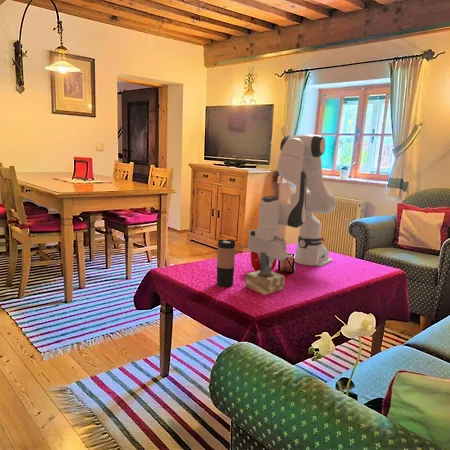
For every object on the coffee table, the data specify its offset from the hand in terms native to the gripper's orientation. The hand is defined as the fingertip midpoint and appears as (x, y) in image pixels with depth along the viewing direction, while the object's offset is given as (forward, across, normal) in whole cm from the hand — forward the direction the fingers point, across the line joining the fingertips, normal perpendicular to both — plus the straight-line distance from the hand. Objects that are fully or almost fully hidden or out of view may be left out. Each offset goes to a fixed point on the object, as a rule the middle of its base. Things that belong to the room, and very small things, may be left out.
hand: (265, 265), depth 175 cm
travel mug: (+11, +13, +12) cm, 21 cm away
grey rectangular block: (+4, 0, 0) cm, 4 cm away
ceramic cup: (+11, +15, -13) cm, 23 cm away
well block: (+10, 0, 0) cm, 10 cm away
